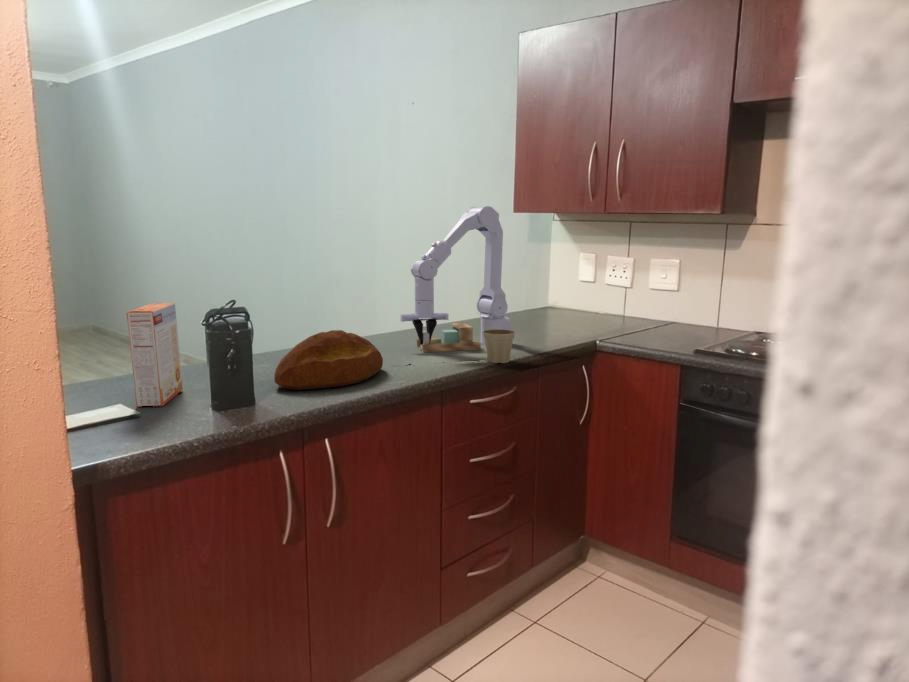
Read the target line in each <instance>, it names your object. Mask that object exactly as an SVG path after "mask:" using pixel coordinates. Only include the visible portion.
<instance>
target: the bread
mask: <svg viewBox="0 0 909 682" xmlns="http://www.w3.org/2000/svg"><path fill="white" fill-rule="evenodd" d="M383 362H384V359H383V356H382V354H381V352H380V350H379V349H378V348H377V347H376V346H375V344H373V343H372V342H371V341H370V340H368V339H366V338H364V337H362V336H360V335H359V334H356V333H353V332H346V331H344V330H342V329H335V330H333V329H331V330H329V331H321V332H318V333H316V334H312V335H311V336H308V337H307V338H305V339H303V340H302V341H300V342H298V343H297V344H296V345H295V346H294V347H293V348H291V349H290V350H289V351H288V352H287V353H286V354H285V355H284V356H283V357H282V358H281V359H280V361H279V363H278V364H277V366H276V369H275V371H274V376H273V377H274V383H275V384H276V385H277V386H279V388H281V389H287V390H292V391H294V390H295V391H299V390H302V391H304V390H313V389H325V388H326V389H327V388H337V387H338V386H339V387H343V386H348V385H349V384H350V385H354V384H359V383H361V382H363V381H365V380H368V379H369V378H371V377H373V376H374V375H376V374H377V373H378V372H380V371H381V369H382V368H383V365H384V364H383Z"/></svg>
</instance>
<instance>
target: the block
mask: <svg viewBox="0 0 909 682" xmlns="http://www.w3.org/2000/svg"><path fill="white" fill-rule="evenodd" d="M440 334H441V335H440V336H441V337H440V338H441V343H459V332H458V331H457V330H452V329H442V330H441V331H440Z"/></svg>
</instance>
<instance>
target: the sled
mask: <svg viewBox="0 0 909 682" xmlns="http://www.w3.org/2000/svg"><path fill="white" fill-rule="evenodd" d="M423 344H429V333H428V332H427V330H423ZM420 347H421V349H422V345H420ZM420 347H419V348H420Z"/></svg>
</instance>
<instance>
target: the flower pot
mask: <svg viewBox="0 0 909 682" xmlns="http://www.w3.org/2000/svg"><path fill="white" fill-rule="evenodd" d="M483 333H484V338H485V342H486V344H485V348H486V356H487V363H490V362H491V364H498V363H501V364H507V363H508V364H509V362H510V360H511V352H512V346H513V342H514V339H515V334H516V333H517V332H516V331H515V330H512V329H511V330H505V329H490V330H484V331H483Z"/></svg>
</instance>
